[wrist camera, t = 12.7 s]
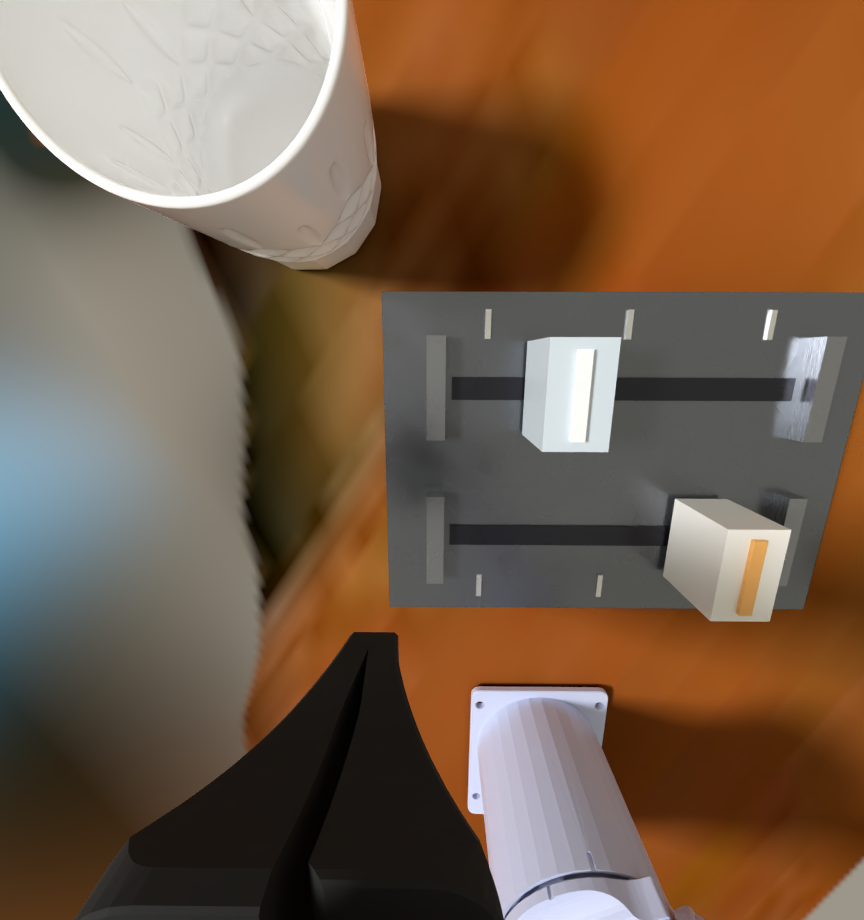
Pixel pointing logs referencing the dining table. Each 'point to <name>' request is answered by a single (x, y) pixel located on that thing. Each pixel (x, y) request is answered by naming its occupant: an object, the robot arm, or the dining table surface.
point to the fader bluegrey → (570, 393)
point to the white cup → (207, 113)
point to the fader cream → (725, 559)
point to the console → (631, 439)
